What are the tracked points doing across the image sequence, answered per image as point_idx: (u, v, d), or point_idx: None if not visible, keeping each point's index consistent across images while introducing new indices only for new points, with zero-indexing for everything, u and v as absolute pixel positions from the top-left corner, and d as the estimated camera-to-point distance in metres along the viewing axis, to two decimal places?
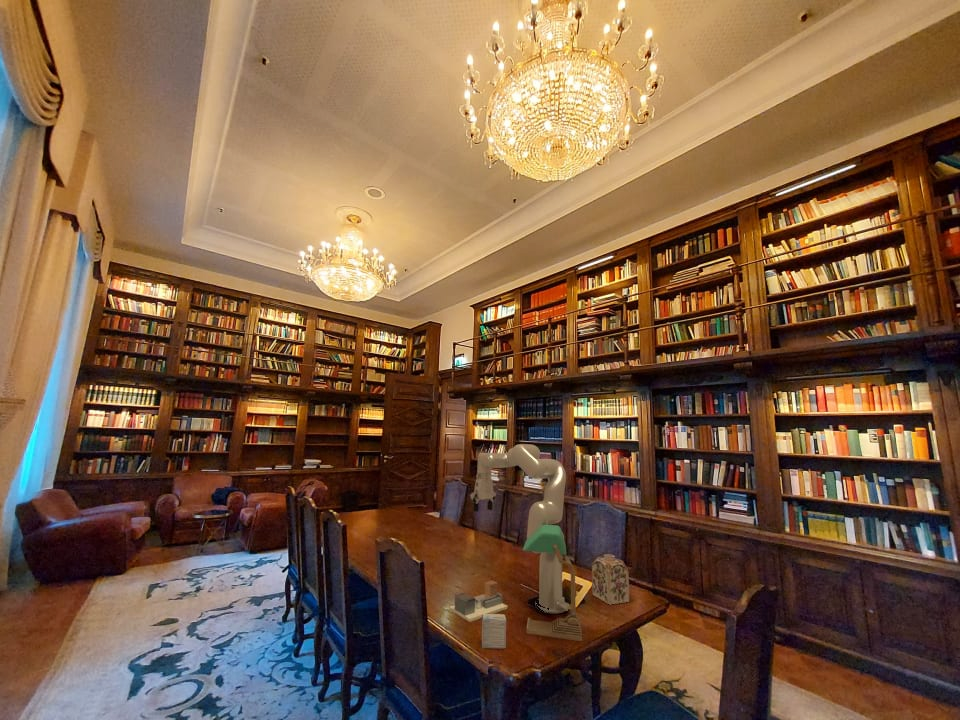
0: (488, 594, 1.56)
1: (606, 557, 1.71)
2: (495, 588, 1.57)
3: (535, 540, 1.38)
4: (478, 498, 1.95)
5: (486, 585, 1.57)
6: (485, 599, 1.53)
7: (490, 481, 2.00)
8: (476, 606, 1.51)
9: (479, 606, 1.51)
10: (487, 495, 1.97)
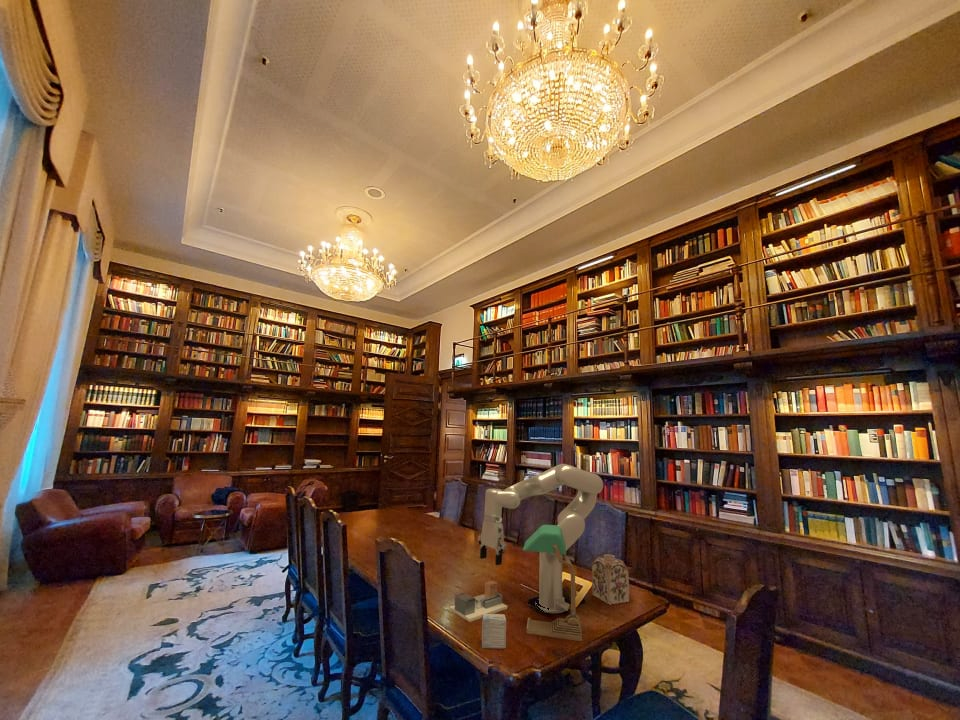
0: (488, 594, 1.56)
1: (606, 557, 1.71)
2: (495, 588, 1.57)
3: (535, 540, 1.38)
4: (501, 547, 1.59)
5: (486, 585, 1.57)
6: (485, 599, 1.53)
7: None
8: (476, 606, 1.51)
9: (479, 606, 1.51)
10: None
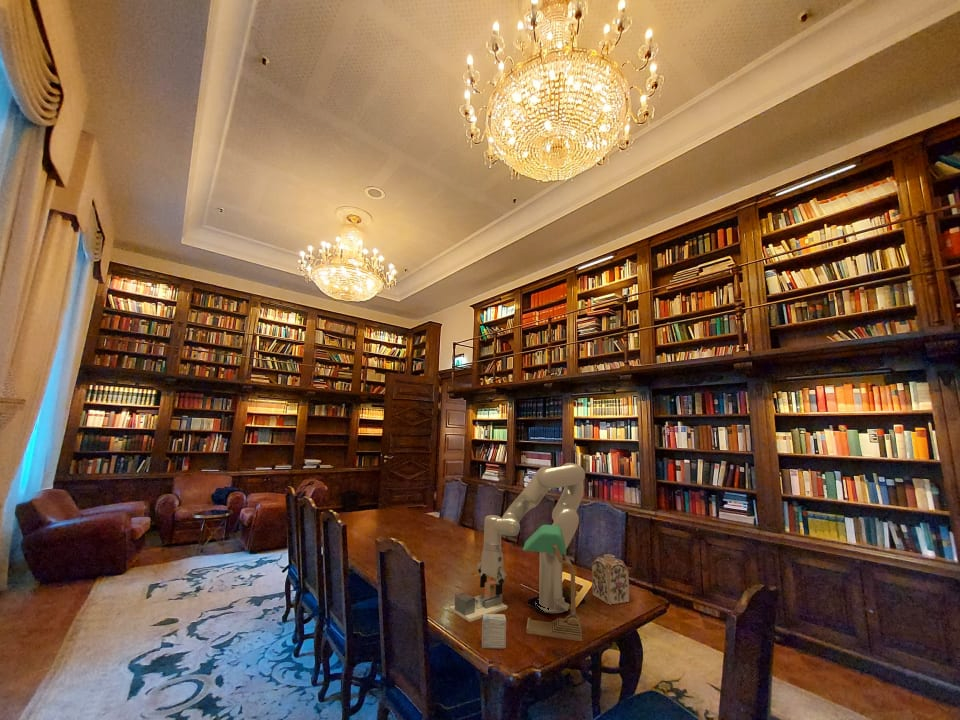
0: (488, 594, 1.56)
1: (606, 557, 1.71)
2: (495, 588, 1.57)
3: (535, 540, 1.38)
4: (501, 576, 1.56)
5: (486, 585, 1.57)
6: (485, 599, 1.53)
7: None
8: (476, 606, 1.51)
9: (479, 606, 1.51)
10: None
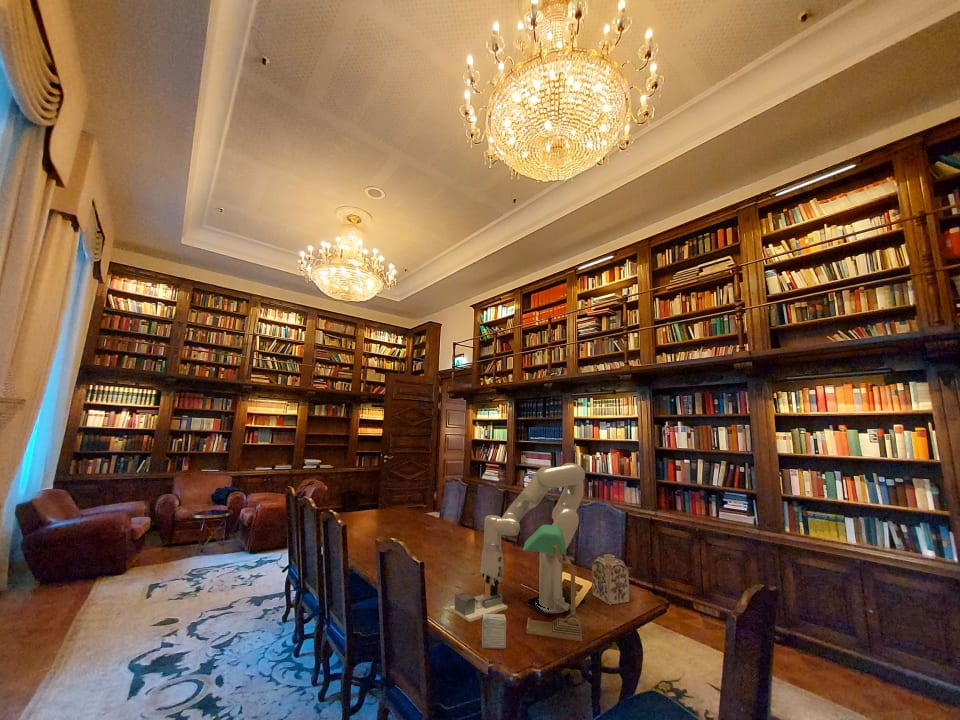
0: (488, 594, 1.56)
1: (606, 557, 1.71)
2: None
3: (535, 540, 1.38)
4: (498, 577, 1.57)
5: (486, 585, 1.57)
6: (485, 599, 1.53)
7: None
8: (476, 606, 1.51)
9: (479, 606, 1.51)
10: None
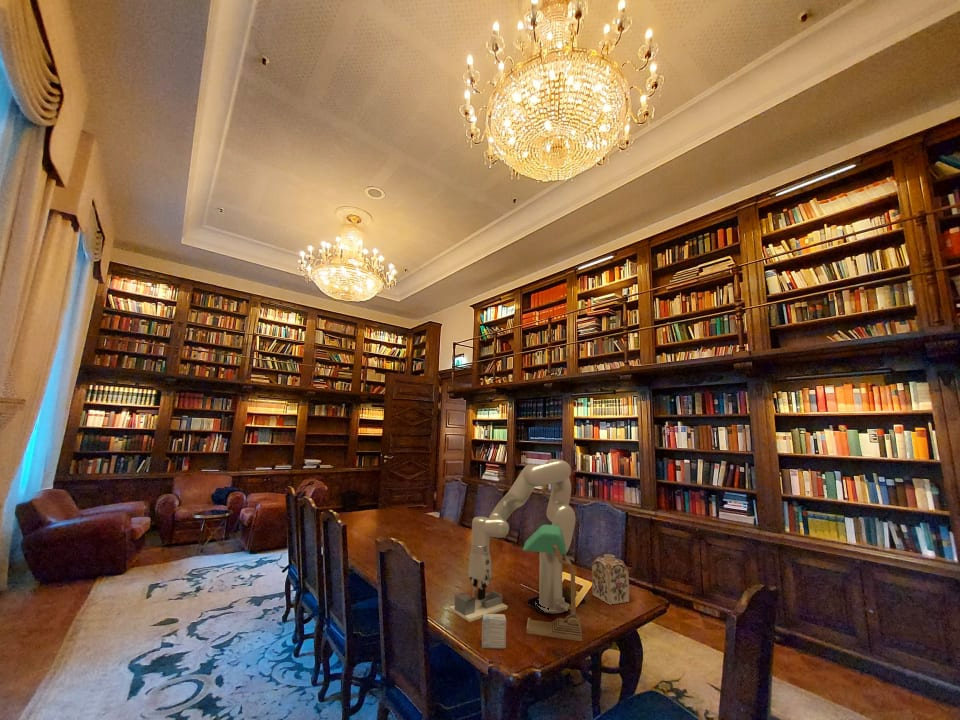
0: (475, 598, 1.51)
1: (606, 557, 1.71)
2: None
3: (535, 540, 1.38)
4: (486, 581, 1.53)
5: (473, 588, 1.53)
6: None
7: None
8: None
9: None
10: None
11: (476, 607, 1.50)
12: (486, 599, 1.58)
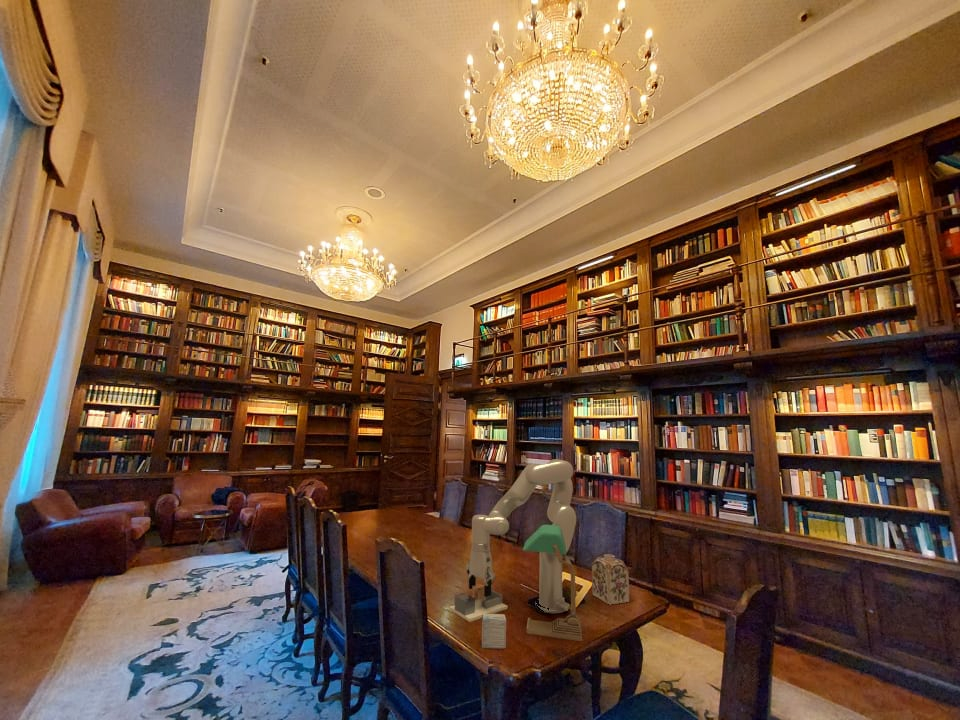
0: (475, 598, 1.51)
1: (606, 557, 1.71)
2: (483, 591, 1.53)
3: (535, 540, 1.38)
4: (489, 577, 1.52)
5: (473, 588, 1.53)
6: None
7: None
8: None
9: None
10: None
11: (476, 607, 1.50)
12: (486, 599, 1.58)
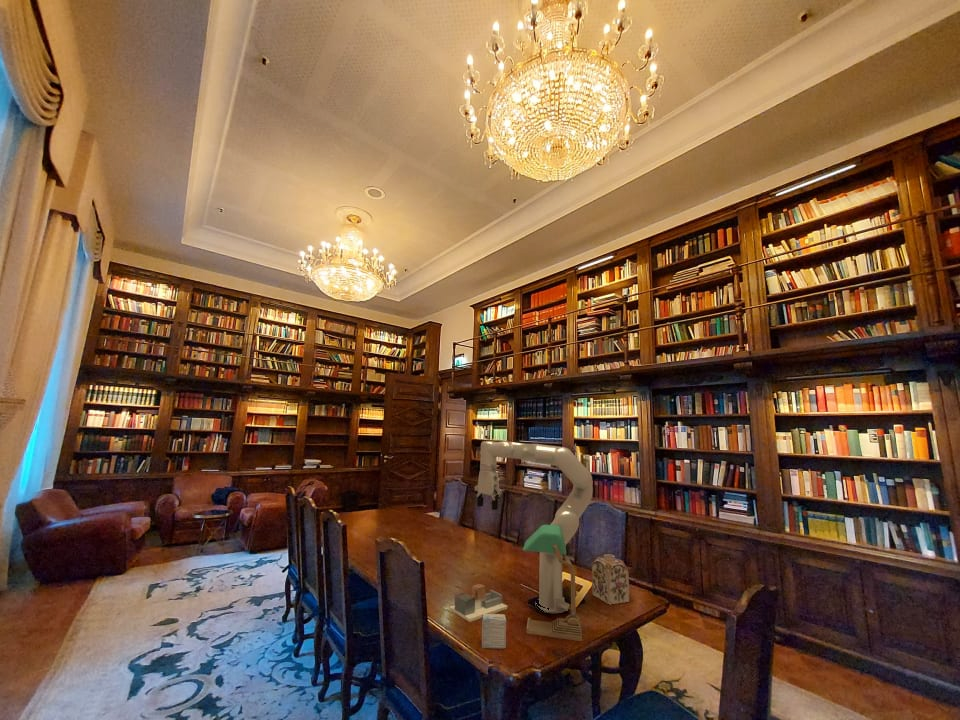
0: (475, 598, 1.51)
1: (606, 557, 1.71)
2: (483, 591, 1.53)
3: (535, 540, 1.38)
4: (496, 493, 1.68)
5: (473, 588, 1.53)
6: None
7: None
8: None
9: None
10: None
11: (476, 607, 1.50)
12: (486, 599, 1.58)
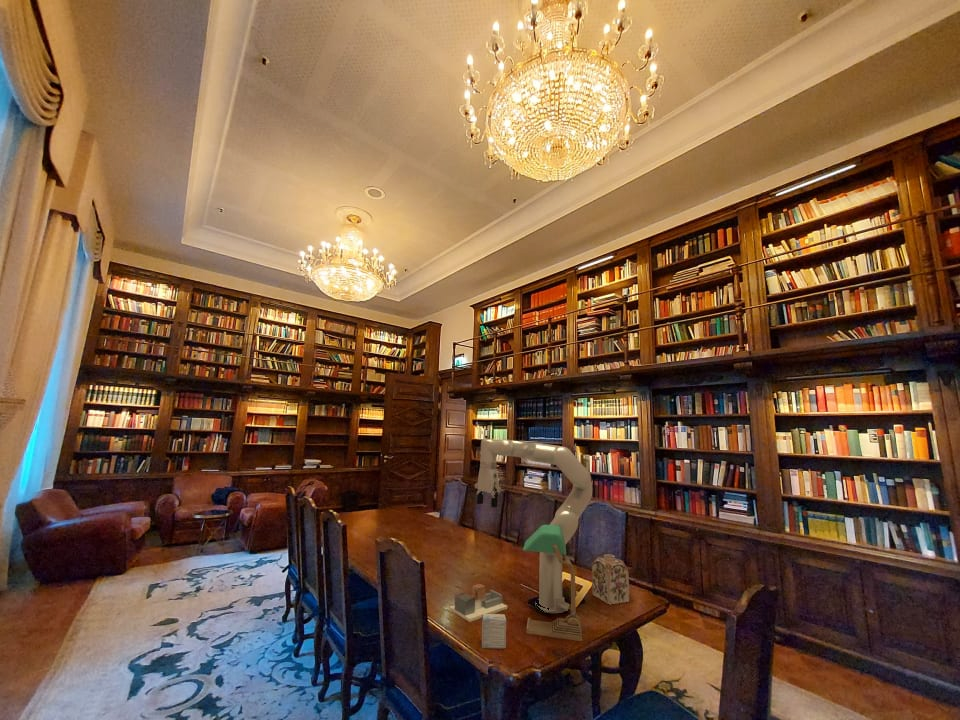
0: (475, 598, 1.51)
1: (606, 557, 1.71)
2: (483, 591, 1.53)
3: (535, 540, 1.38)
4: (496, 491, 1.69)
5: (473, 588, 1.53)
6: None
7: None
8: None
9: None
10: None
11: (476, 607, 1.50)
12: (486, 599, 1.58)
